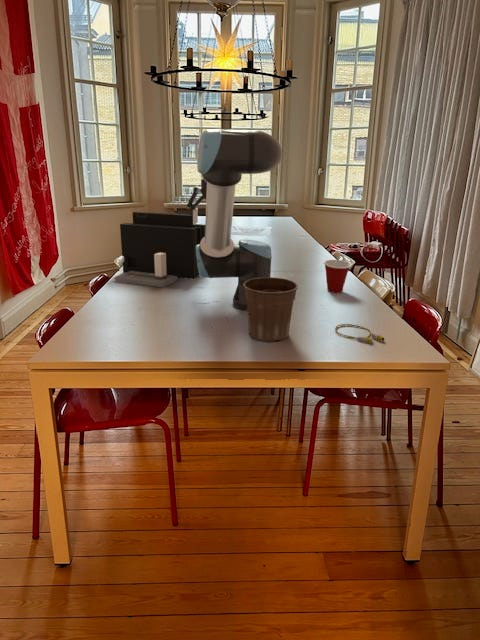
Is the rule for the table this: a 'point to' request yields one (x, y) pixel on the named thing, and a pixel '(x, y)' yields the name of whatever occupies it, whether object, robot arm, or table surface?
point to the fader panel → (145, 279)
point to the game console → (161, 243)
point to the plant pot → (269, 307)
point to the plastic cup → (336, 274)
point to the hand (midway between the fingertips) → (209, 227)
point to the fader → (160, 265)
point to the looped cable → (363, 339)
